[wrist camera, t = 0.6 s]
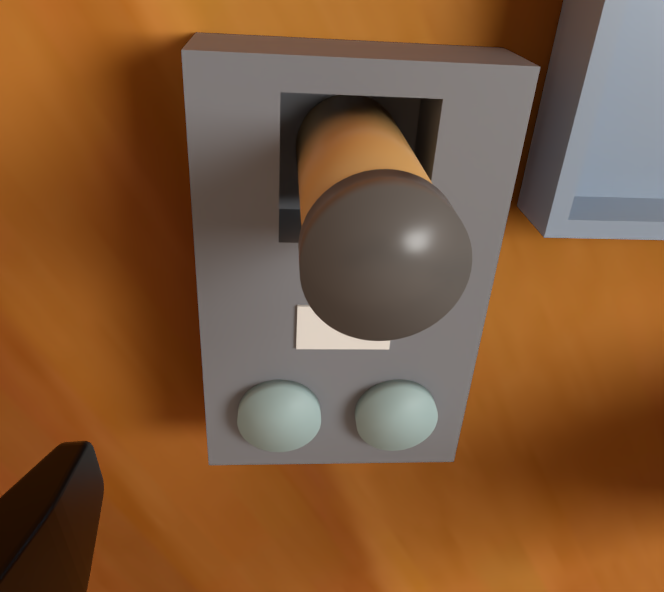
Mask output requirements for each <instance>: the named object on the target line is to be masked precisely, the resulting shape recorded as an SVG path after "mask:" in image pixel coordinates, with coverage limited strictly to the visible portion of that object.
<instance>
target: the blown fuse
mask: <svg viewBox="0 0 664 592" xmlns="http://www.w3.org/2000/svg"><path fill="white" fill-rule="evenodd" d="M296 155H297V170H298V184H299V198H300V213H301V231H300V235H299V243H298V252H299V271H300V282H301V287H302V290H303V293H304V296H305V298H306V300H307V302H308V304H309V306H310V307H311V309H312V310H313V311H314V313H315V314H316V315H317V316H318V317H319V318H320V319H321V320H322V321H323V322H324V323H326V324H327V325H328V326H329V327H331V328H333V329H334V330H336V331H338V332H340V333H342V334H345V335H347V336H350V337H353V338H357V339H362V340H367V341H390V340H396V339H401V338H405V337H409V336H411V335H414V334H417V333H419V332H421V331H423V330H425V329H427V328H429V327H431V326H432V325H434V324H435V323H437V322H438V321H439V320H440V319H442V318H443V317H444V316H445V315H446V314H447V313H448V312H449V311H450V310H451V309H452V308H453V307H454V306H455V304H456V303H457V302H458V300H459V299H460V297H461V296H462V294H463V292H464V290H465V288H466V286H467V283H468V281H469V277H470V273H471V268H472V247H471V242H470V239H469V236H468V233H467V230H466V228H465V227H464V225H463V223H462V221H461V220H460V218H459V216H458V215H457V213H456V212H455V210H454V208H453V207H452V205H451V204H450V202H449V201H448V199H447V198H446V197H445V195H444V194H443V193H442V192H441V191H440V190H439V189H438V188H437V187H436V186H434V185H433V184H432V182H431V180H430V179H429V177H428V176H427V174H426V172H425V171H424V169H423V167H422V166H421V164H420V162H419V161H418V159H417V157H416V156H415V154H414V153H413V151H412V149H411V148H410V146H409V144H408V143H407V141H406V139H405V138H404V136H403V134H402V133H401V131H400V129H399V128H398V126H397V125H396V123H395V121H394V120H393V118H392V116H391V115H390V114H389V112H388V111H387V110H386V109H385V108H384V107H383V106H382V105H381V104H379V103H378V102H376V101H375V100H373V99H371V98H369V97H366V96H359V95H336V96H333V97H330V98H328V99H325V100H324V101H322V102H320V103H319V104H317V105H316V106H315V107H314V108H313V109H312V110H311V111H310V112H309V113H308V114H307V116H306V117H305V118H304V120H303V122H302V124H301V126H300V128H299V131H298V135H297V140H296Z"/></svg>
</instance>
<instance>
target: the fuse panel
mask: <svg viewBox="0 0 664 592" xmlns="http://www.w3.org/2000/svg"><path fill="white" fill-rule="evenodd" d="M181 55H182V70H183V85H184V100H185V115H186V130H187V145H188V160H189V175H190V190H191V205H192V220H193V235H194V250H195V265H196V280H197V295H198V310H199V325H200V340H201V355H202V370H203V385H204V401H205V416H206V431H207V446H208V461H209V465H258V464H330V463H402V462H454V458H455V454H456V449H457V445H458V440H459V436H460V431H461V426H462V422H463V417H464V413H465V408H466V404H467V399H468V395H469V390H470V385H471V381H472V376H473V372H474V367H475V363H476V358H477V354H478V349H479V345H480V340H481V335H482V331H483V326H484V322H485V317H486V313H487V308H488V304H489V299H490V295H491V290H492V285H493V281H494V276H495V272H496V267H497V263H498V258H499V254H500V249H501V244H502V240H503V235H504V231H505V226H506V222H507V217H508V213H509V208H510V204H511V199H512V194H513V190H514V185H515V181H516V176H517V172H518V167H519V163H520V158H521V153H522V149H523V144H524V140H525V135H526V131H527V126H528V122H529V117H530V113H531V108H532V103H533V99H534V94H535V90H536V85H537V81H538V76H539V72H540V66H538V65H536V64H534V63H532V62H530V61H529V60H527V59H525V58H523V57H521V56H519V55H517V54H515V53H513V52H511V51H509V50H507V49H505V48H498V47H478V46H458V45H438V44H418V43H398V42H378V41H358V40H338V39H318V38H297V37H277V36H257V35H237V34H217V33H197V32H196V33H195V34H194V35H193V37H192V38H191V39H190V40H189V41H188V42H187V44H186V45H185V46H184V47H183V48H182V49H181ZM336 95H359V96H366V97H369V98H371V99H373V100H375V101H376V102H378V103H379V104H381V105H382V106H383V107H384V108H385V109H386V110H387V111H388V112H389V114H390V115H391V116H392V118H393V120H394V121H395V123H396V125H397V126H398V128H399V129H400V131H401V133H402V134H403V136H404V138H405V139H406V141H407V143H408V144H409V146H410V148H411V149H412V151H413V153H414V154H415V156H416V157H417V159H418V161H419V162H420V164H421V166H422V167H423V169H424V171H425V172H426V174H427V176H428V177H429V179H430V180H431V182H432V184H433V185H434V186H436V187H437V188H438V189H439V190H440V191H441V192H442V193H443V194H444V195H445V197H446V198H447V199H448V201H449V202H450V204H451V205H452V207H453V208H454V210H455V212H456V213H457V215H458V216H459V218H460V220H461V221H462V223H463V225H464V227H465V228H466V230H467V233H468V236H469V239H470V242H471V247H472V268H471V273H470V277H469V281H468V283H467V286H466V288H465V290H464V292H463V294H462V296H461V297H460V299H459V300H458V302H457V303H456V304H455V306H454V307H453V308H452V309H451V310H450V311H449V312H448V313H447V314H446V315H445V316H444V317H443V318H442V319H440V320H439V321H438V322H437V323H435V324H434V325H432V326H431V327H429V328H427V329H425V330H423V331H421V332H419V333H417V334H414V335H411V336H409V337H405V338H401V339H396V340H390V341H367V340H362V339H357V338H353V337H350V336H347V335H345V334H342V333H340V332H338V331H336V330H334V329H333V328H331V327H329V326H328V325H327V324H326V323H324V322H323V321H322V320H321V319H320V318H319V317H318V316H317V315H316V314H315V313H314V311H313V310H312V309H311V307H310V306H309V304H308V302H307V300H306V298H305V296H304V293H303V290H302V287H301V282H300V271H299V252H298V243H299V235H300V231H301V213H300V198H299V184H298V170H297V155H296V140H297V135H298V131H299V128H300V126H301V124H302V122H303V120H304V118H305V117H306V116H307V114H308V113H309V112H310V111H311V110H312V109H313V108H314V107H315V106H316V105H317V104H319V103H320V102H322V101H324V100H325V99H328V98H330V97H333V96H336Z"/></svg>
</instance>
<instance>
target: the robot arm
mask: <svg viewBox="0 0 664 592" xmlns="http://www.w3.org/2000/svg"><path fill="white" fill-rule="evenodd" d="M103 494H104V483H103V478H102V474H101V471H100V468H99V464H98V461H97V457H96V454H95V451H94V448H93V446H92V444H91V443H90V442H87V441H78V442H64V443H61V444H60V445H58V446H57V447H56V448H54V449H53V450H52V451H51V452H50V453H49V454H48V455H47V456H46V457H45V458H43V459H42V460H41V461H40V462H39V463H38V464H37V465H36V466H35V467H34V468H32V469H31V470H30V471H29V472H28V473H27V474H26V475H25V476H24V477H23V478H21V479H20V480H19V481H18V482H17V483H16V484H15V485H14V486H13V487H12V488H10V489H9V490H8V491H7V492H6V493H5V494H4V495H3V496H2V497H1V498H0V592H87V587H88V581H89V576H90V570H91V564H92V559H93V553H94V547H95V541H96V535H97V530H98V524H99V518H100V512H101V506H102V501H103Z"/></svg>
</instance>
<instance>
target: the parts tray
mask: <svg viewBox="0 0 664 592" xmlns="http://www.w3.org/2000/svg"><path fill="white" fill-rule="evenodd" d="M517 207H518V208H519V209H520V210H521V211H522V213H523V214H524V215H525V216H526V217H527V218H528V220H529V221H530V222H531V223H532V224H533V225H534V226H535V228H536V229H537V230H538V231H539V232H540V233H541V235H542V236H543V237H544V238H593V239H641V240H664V0H563V4H562V9H561V13H560V18H559V22H558V26H557V31H556V35H555V40H554V44H553V49H552V53H551V57H550V62H549V66H548V71H547V75H546V79H545V84H544V88H543V93H542V97H541V102H540V106H539V110H538V115H537V119H536V124H535V128H534V133H533V137H532V141H531V146H530V150H529V155H528V159H527V164H526V168H525V172H524V177H523V181H522V186H521V190H520V194H519V199H518V203H517Z"/></svg>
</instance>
